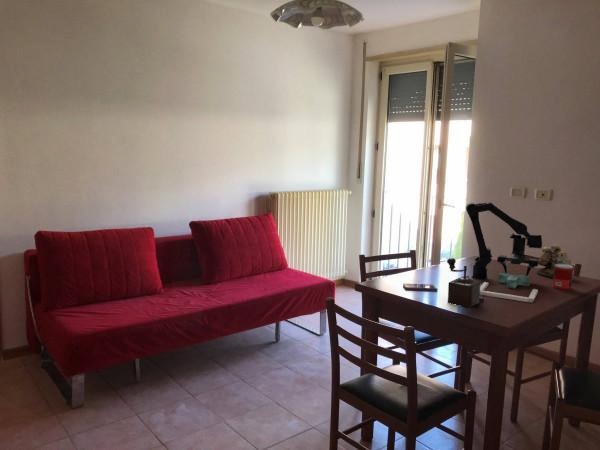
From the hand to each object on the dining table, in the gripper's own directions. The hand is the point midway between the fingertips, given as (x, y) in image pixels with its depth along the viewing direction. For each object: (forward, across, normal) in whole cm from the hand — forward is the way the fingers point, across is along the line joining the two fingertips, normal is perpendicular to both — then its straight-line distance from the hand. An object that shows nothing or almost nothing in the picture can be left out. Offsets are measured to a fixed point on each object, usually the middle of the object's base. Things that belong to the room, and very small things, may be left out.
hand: (516, 277), depth 255 cm
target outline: (+2, 0, -27) cm, 27 cm away
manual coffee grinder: (+2, -16, -53) cm, 55 cm away
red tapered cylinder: (+2, +21, -3) cm, 21 cm away
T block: (+2, 0, -11) cm, 11 cm away
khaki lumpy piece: (+2, +15, +20) cm, 25 cm away
